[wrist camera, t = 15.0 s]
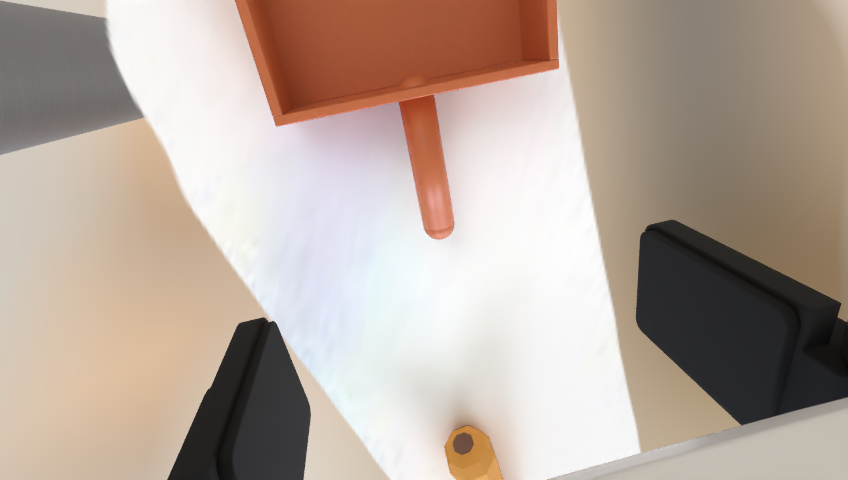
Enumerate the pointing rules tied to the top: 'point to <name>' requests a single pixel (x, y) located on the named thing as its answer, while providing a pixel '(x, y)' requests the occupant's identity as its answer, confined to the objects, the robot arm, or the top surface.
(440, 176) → the dustpan
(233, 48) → the top surface
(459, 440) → the carrot
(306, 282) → the top surface
